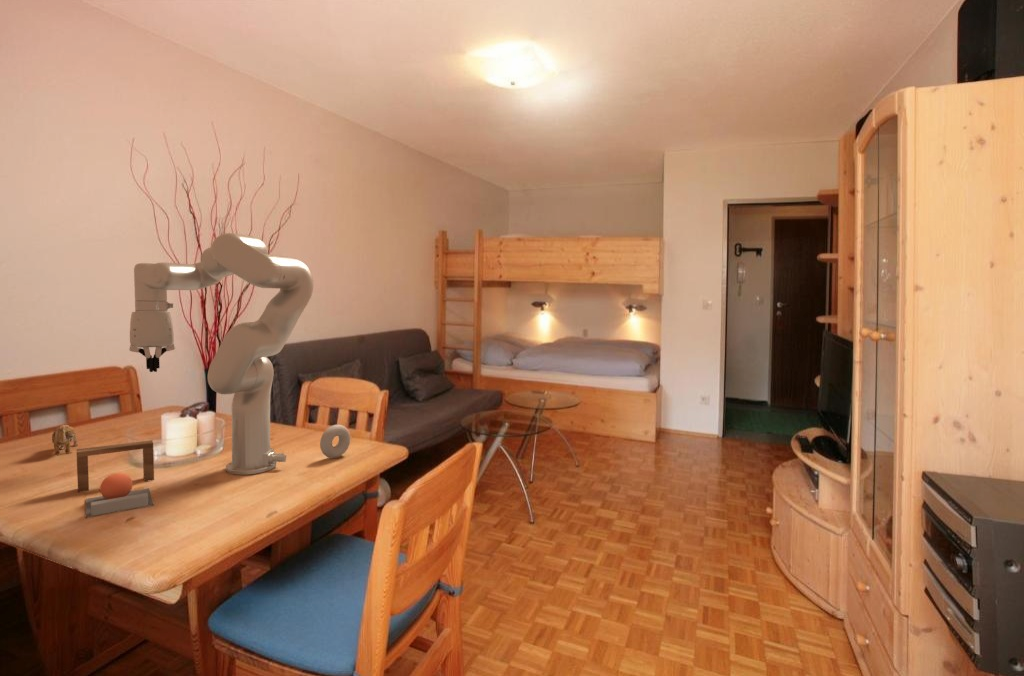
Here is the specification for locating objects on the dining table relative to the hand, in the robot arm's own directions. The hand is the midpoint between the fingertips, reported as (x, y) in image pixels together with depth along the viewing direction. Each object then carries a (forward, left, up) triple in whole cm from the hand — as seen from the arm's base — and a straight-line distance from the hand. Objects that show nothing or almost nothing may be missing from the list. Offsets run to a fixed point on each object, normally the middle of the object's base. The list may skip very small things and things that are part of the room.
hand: (153, 371), depth 151 cm
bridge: (-2, +23, -25) cm, 34 cm away
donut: (-51, +4, -25) cm, 57 cm away
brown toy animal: (+27, -6, -25) cm, 37 cm away
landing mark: (-9, +35, -25) cm, 44 cm away
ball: (-7, +33, -22) cm, 40 cm away
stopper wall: (-12, +39, -25) cm, 48 cm away
